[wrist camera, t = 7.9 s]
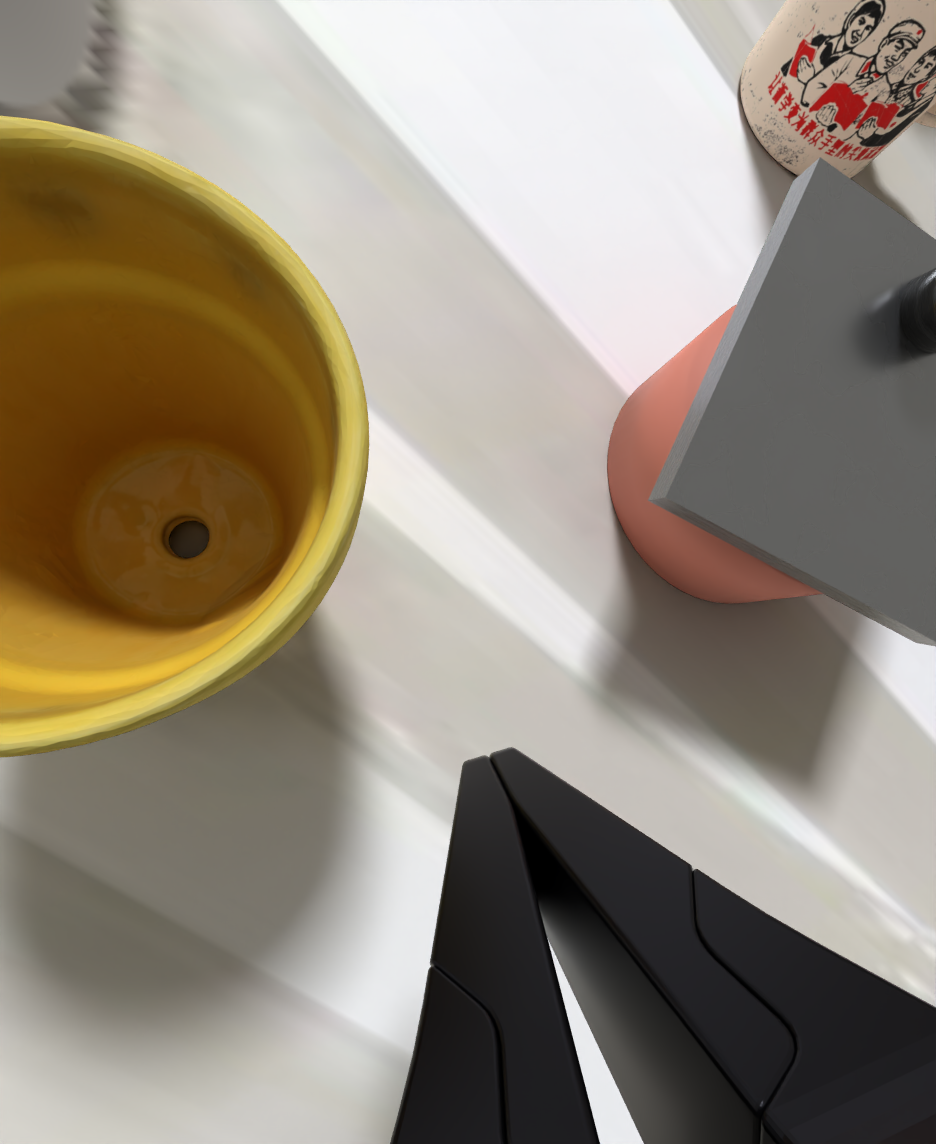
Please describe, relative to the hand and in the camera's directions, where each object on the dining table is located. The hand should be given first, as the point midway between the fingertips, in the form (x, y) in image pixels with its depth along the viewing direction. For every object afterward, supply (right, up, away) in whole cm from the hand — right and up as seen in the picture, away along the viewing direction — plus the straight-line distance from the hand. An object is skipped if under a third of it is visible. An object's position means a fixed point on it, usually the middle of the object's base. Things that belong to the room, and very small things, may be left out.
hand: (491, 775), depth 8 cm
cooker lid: (+12, +8, +8) cm, 17 cm away
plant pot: (-10, +4, +9) cm, 14 cm away
